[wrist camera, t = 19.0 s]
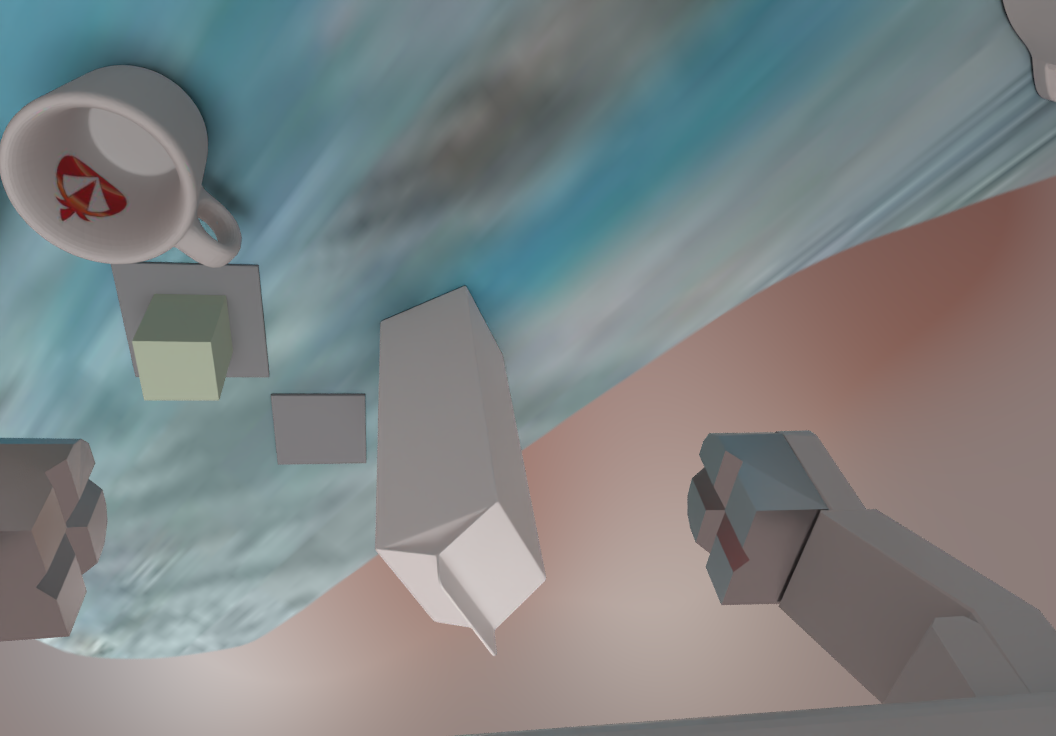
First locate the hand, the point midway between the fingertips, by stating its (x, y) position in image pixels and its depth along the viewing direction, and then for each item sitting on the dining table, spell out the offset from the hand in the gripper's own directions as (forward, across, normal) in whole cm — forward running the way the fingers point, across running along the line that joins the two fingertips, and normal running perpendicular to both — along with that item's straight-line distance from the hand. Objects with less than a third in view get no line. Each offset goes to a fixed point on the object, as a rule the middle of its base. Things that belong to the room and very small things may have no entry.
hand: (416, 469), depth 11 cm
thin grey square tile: (+35, +12, +20) cm, 42 cm away
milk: (+35, -3, +21) cm, 41 cm away
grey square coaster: (+35, +5, +28) cm, 45 cm away
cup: (+35, +12, +9) cm, 38 cm away
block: (+35, +12, +20) cm, 42 cm away
